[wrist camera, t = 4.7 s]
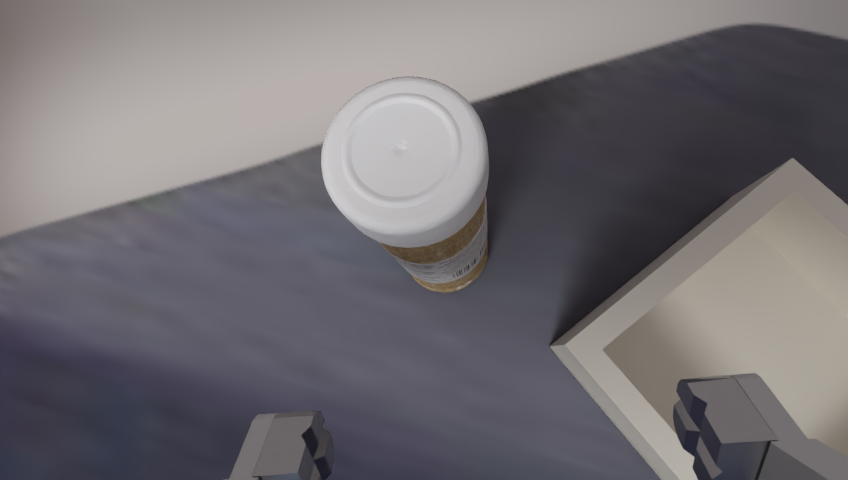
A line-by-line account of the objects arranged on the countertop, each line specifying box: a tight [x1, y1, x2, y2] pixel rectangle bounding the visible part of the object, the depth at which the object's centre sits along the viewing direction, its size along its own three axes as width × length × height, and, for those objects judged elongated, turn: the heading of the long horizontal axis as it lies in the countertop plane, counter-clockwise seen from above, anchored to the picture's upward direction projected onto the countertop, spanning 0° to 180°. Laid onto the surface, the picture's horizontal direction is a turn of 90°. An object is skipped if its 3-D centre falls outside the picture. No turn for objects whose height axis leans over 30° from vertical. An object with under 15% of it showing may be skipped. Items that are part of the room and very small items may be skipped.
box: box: [549, 158, 848, 480], centre depth 20 cm, size 12×12×5 cm
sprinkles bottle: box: [321, 77, 489, 293], centre depth 19 cm, size 5×5×13 cm
